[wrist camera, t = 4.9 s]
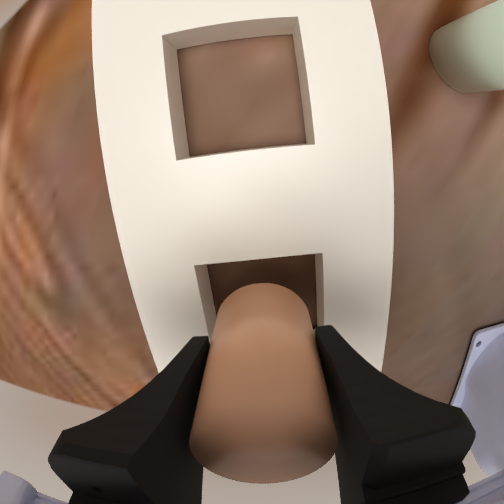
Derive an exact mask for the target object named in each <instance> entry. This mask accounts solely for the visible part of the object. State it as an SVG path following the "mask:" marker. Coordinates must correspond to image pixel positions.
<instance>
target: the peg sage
mask: <svg viewBox="0 0 504 504" xmlns="http://www.w3.org/2000/svg"><path fill="white" fill-rule="evenodd" d="M429 52H430V57H431V61H432V64H433V66H434V68H435V70H436V72H437V73H438V75H439V76H440V78H441V79H442V80H443V81H444V82H445V83H446V84H447V85H448V86H449V87H451V88H452V89H454V90H456V91H458V92H460V93H467V94H468V93H476V92H485V91H496V90H504V0H499V1H496V2H494V3H492V4H489V5H487V6H485V7H482V8H480V9H478V10H476V11H474V12H472V13H469V14H467V15H465V16H463V17H461V18H459V19H457V20H455V21H453V22H451V23H449V24H447V25H445V26H443V27H441V28H439V29H437V30H436V31H435V32H434V33H433V34H432V36H431V39H430V43H429Z"/></svg>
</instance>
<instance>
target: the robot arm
mask: <svg viewBox="0 0 504 504" xmlns="http://www.w3.org/2000/svg"><path fill="white" fill-rule="evenodd" d="M315 340H316V344H317V348H318V352H319V356H320V361H321V365H322V369H323V374H324V378H325V382H326V387H327V391H328V396H329V400H330V405H331V409H332V414H333V418H334V423H335V428H336V433H337V437H338V446H337V449H336V451H335V456H336V464H337V471H338V480H339V488H340V498H341V504H504V323H501V324H498V325H495V326H491V327H488V328H484V329H481V330H478V331H477V332H475V334H474V335H473V338H472V342H471V345H470V348H469V352H468V355H467V358H466V362H465V365H464V368H463V371H462V374H461V377H460V380H459V382H458V385H457V388H456V391H455V393H454V396H453V399H452V401H451V404H450V405H448V404H445V403H442V402H438V401H435V400H433V399H430V398H428V397H425V396H423V395H420V394H418V393H416V392H414V391H412V390H410V389H408V388H406V387H404V386H402V385H400V384H398V383H397V382H395V381H393V380H392V379H390V378H389V377H387V376H386V375H384V374H383V373H381V372H380V371H379V370H377V369H376V368H375V367H374V366H372V365H371V364H370V363H369V362H368V361H366V360H365V359H364V358H363V357H362V356H361V355H360V354H359V353H358V352H357V351H356V350H355V349H353V348H352V347H351V346H350V345H349V344H348V342H347V341H346V340H345V339H344V338H343V337H342V336H341V335H340V334H339V333H338V331H337V330H336V329H335V328H334V327H333V326H332V325H325V326H316V327H315ZM209 348H210V342H209V337H208V336H194V337H192V338H191V339H190V340H189V341H188V343H187V344H186V345H185V346H184V347H183V348H182V349H181V350H180V352H179V353H178V354H177V355H176V356H175V357H174V358H173V359H172V361H171V362H170V363H169V364H168V365H167V366H166V367H165V368H164V369H163V370H162V371H161V372H160V373H159V374H158V375H157V376H156V377H155V378H154V379H153V380H152V381H150V382H149V383H148V384H147V385H146V386H145V387H143V388H142V389H141V390H140V391H138V392H137V393H136V394H134V395H133V396H132V397H130V398H129V399H127V400H126V401H124V402H123V403H121V404H120V405H118V406H116V407H115V408H113V409H112V410H110V411H108V412H106V413H104V414H102V415H100V416H98V417H96V418H94V419H92V420H90V421H88V422H85V423H83V424H80V425H78V426H75V427H72V428H69V429H66V430H63V431H62V433H61V434H60V436H59V438H58V440H57V442H56V444H55V446H54V447H53V449H52V451H51V453H50V455H49V457H48V462H49V464H50V466H51V468H52V470H53V471H54V472H55V473H56V474H57V476H58V477H59V478H60V479H61V480H62V481H63V482H64V483H65V484H66V485H67V486H68V487H69V488H70V489H71V490H72V491H73V494H72V496H71V499H70V501H69V503H66V502H63V501H60V500H57V499H55V498H52V497H50V496H47V495H44V494H42V493H39V492H37V490H36V489H35V488H34V487H33V486H32V485H31V484H30V483H28V482H27V481H26V480H24V479H22V478H20V477H18V476H16V475H14V474H12V473H9V472H7V471H3V472H2V474H1V475H0V504H201V500H202V480H203V466H202V465H201V464H200V463H199V462H198V461H197V460H196V459H195V458H194V456H193V454H192V453H191V450H190V447H189V439H190V434H191V429H192V424H193V420H194V415H195V411H196V406H197V401H198V397H199V392H200V388H201V383H202V379H203V374H204V370H205V366H206V361H207V357H208V352H209ZM470 449H471V451H472V453H473V455H474V457H475V459H476V461H477V463H478V465H479V466H480V468H481V469H482V470H483V471H484V472H485V473H487V474H488V475H490V477H488V478H486V479H483V480H481V481H479V482H477V483H475V484H473V485H470V486H467V483H466V481H465V479H464V476H463V474H464V473H465V467H464V465H463V463H462V461H463V459H464V458H465V456H466V454H467V453H468V451H469V450H470Z"/></svg>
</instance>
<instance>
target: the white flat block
mask: <svg viewBox="0 0 504 504" xmlns="http://www.w3.org/2000/svg"><path fill="white" fill-rule="evenodd" d="M291 34H292V35H293V42H294V48H295V55H296V62H297V69H298V76H299V84H300V91H301V99H302V108H303V116H304V125H305V135H306V144H293V145H281V146H271V147H261V148H252V149H243V150H235V151H227V152H220V153H213V154H206V155H199V156H192V157H190V156H189V148H188V141H187V133H186V126H185V118H184V110H183V102H182V93H181V84H180V75H179V66H178V56H177V49H182V48H187V47H192V46H197V45H203V44H209V43H215V42H221V41H228V40H235V39H243V38H252V37H262V36H275V35H291ZM92 50H93V70H94V84H95V96H96V106H97V115H98V124H99V132H100V140H101V147H102V154H103V160H104V166H105V172H106V178H107V184H108V189H109V195H110V200H111V205H112V210H113V215H114V219H115V224H116V229H117V233H118V237H119V242H120V246H121V250H122V254H123V258H124V262H125V266H126V270H127V274H128V277H129V281H130V285H131V288H132V292H133V295H134V299H135V302H136V305H137V309H138V312H139V315H140V319H141V322H142V325H143V328H144V331H145V334H146V337H147V340H148V343H149V346H150V349H151V352H152V355H153V358H154V361H155V364H156V366H157V369H158V372H159V373H160V372H161V371H162V370H163V369H164V368H165V367H166V366H167V365H168V364H169V363H170V362H171V361H172V359H173V358H174V357H175V356H176V355H177V354H178V353H179V352H180V350H181V349H182V348H183V347H184V346H185V345H186V344H187V343H188V341H189V340H190V339H191V338H192V337H194V336H208V337H209V342H210V344H211V339H212V335H213V331H214V326H215V322H216V318H217V316H216V311H215V306H214V300H213V295H212V290H211V285H210V279H209V274H208V268H207V264H214V263H224V262H235V261H245V260H255V259H265V258H275V257H285V256H295V255H305V254H315V270H316V297H317V326H325V325H332V326H333V327H334V328H335V329H336V330H337V331H338V333H339V334H340V335H341V336H342V337H343V338H344V339H345V340H346V341H347V342H348V344H349V345H350V346H351V347H352V348H353V349H355V350H356V351H357V352H358V353H359V354H360V355H361V356H362V357H363V358H364V359H365V360H366V361H368V362H369V363H370V364H371V365H372V366H374V367H375V368H376V369H377V370H379V371H380V372H381V370H382V364H383V357H384V350H385V343H386V335H387V326H388V317H389V307H390V295H391V282H392V266H393V241H394V182H393V158H392V142H391V129H390V118H389V108H388V99H387V91H386V83H385V76H384V69H383V63H382V56H381V51H380V45H379V40H378V34H377V29H376V24H375V20H374V15H373V11H372V6H371V2H370V0H92ZM313 331H314V336H315V329H313Z"/></svg>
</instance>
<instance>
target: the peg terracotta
mask: <svg viewBox="0 0 504 504" xmlns="http://www.w3.org/2000/svg"><path fill="white" fill-rule="evenodd" d="M337 446H338V437H337V433H336V428H335V423H334V418H333V414H332V409H331V405H330V400H329V396H328V391H327V387H326V382H325V378H324V374H323V369H322V365H321V361H320V356H319V352H318V348H317V344H316V340H315V336H314V331H313V327H312V323H311V319H310V315H309V311H308V309H307V306H306V305H305V303H304V302H303V300H302V299H301V298H300V297H299V296H298V295H297V294H296V293H294V292H293V291H291V290H290V289H288V288H286V287H283V286H280V285H277V284H272V283H256V284H251V285H247V286H244V287H242V288H239V289H238V290H236V291H234V292H233V293H231V294H230V295H229V296H228V297H227V298H226V299H225V300H224V301H223V303H222V304H221V306H220V308H219V311H218V313H217V318H216V322H215V326H214V331H213V335H212V339H211V344H210V348H209V352H208V357H207V361H206V366H205V370H204V374H203V379H202V383H201V388H200V392H199V397H198V401H197V406H196V411H195V415H194V420H193V424H192V429H191V434H190V439H189V447H190V450H191V453H192V454H193V456H194V458H195V459H196V460H197V461H198V462H199V463H200V464H201V465H202V466H204V467H205V468H207V469H208V470H210V471H211V472H214V473H215V474H217V475H220V476H222V477H225V478H228V479H232V480H235V481H240V482H248V483H278V482H285V481H289V480H294V479H297V478H301V477H303V476H306V475H308V474H310V473H312V472H314V471H316V470H318V469H319V468H321V467H322V466H323V465H324V464H326V463H327V462H328V461H329V460H330V459H331V458H332V456H333V455H334V453H335V451H336V449H337Z"/></svg>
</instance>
